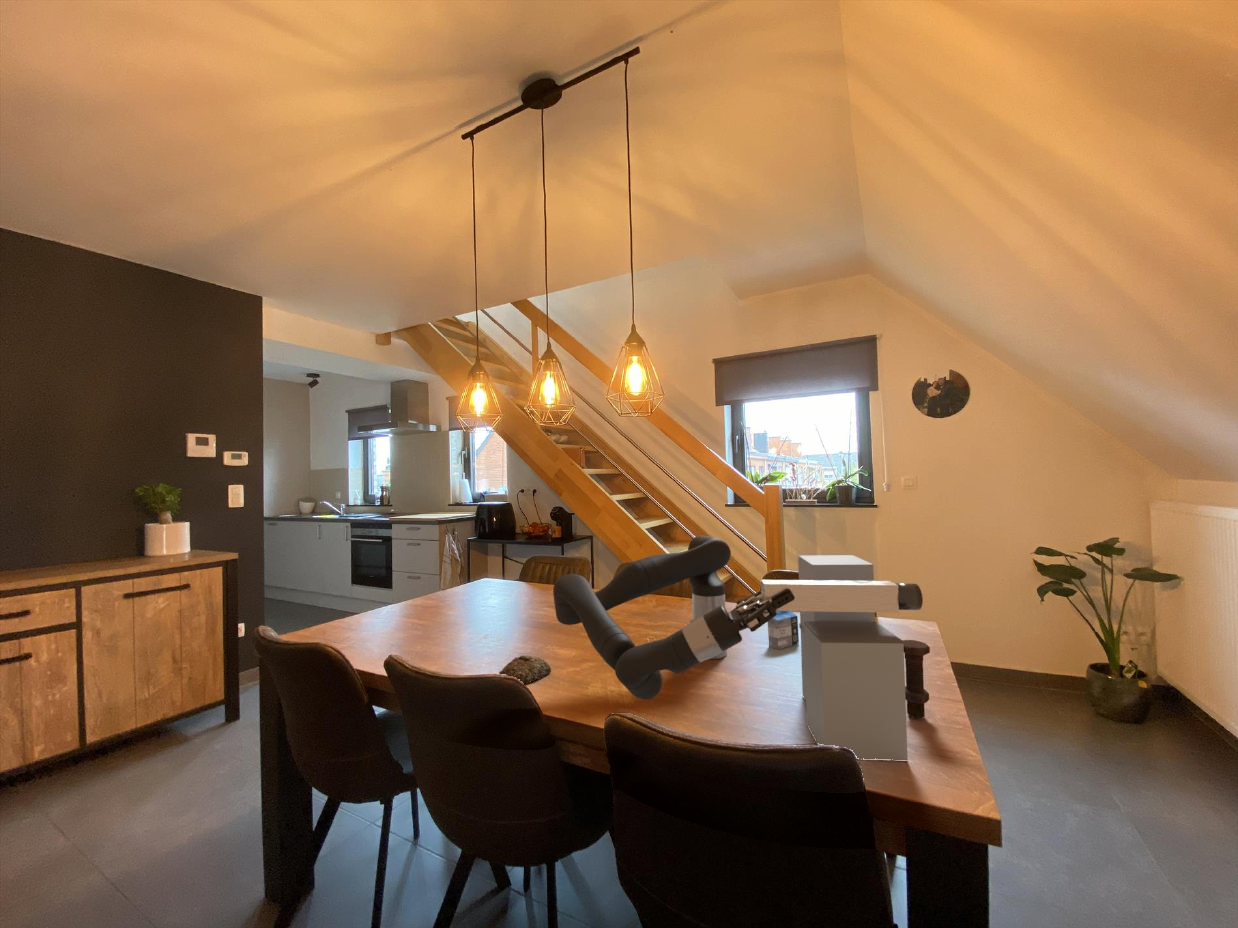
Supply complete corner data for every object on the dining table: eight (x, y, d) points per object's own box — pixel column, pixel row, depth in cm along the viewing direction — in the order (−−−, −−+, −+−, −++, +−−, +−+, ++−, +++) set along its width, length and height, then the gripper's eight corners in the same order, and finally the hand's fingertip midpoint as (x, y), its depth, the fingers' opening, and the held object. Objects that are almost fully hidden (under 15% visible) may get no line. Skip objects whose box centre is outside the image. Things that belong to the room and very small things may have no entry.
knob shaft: (765, 611, 96) (764, 584, 96) (761, 604, 101) (760, 579, 101) (922, 613, 93) (922, 585, 93) (910, 606, 98) (910, 580, 98)
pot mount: (825, 759, 91) (819, 578, 92) (791, 695, 117) (786, 555, 118) (911, 761, 90) (905, 578, 90) (858, 696, 116) (853, 554, 116)
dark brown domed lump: (557, 674, 134) (556, 655, 134) (518, 689, 125) (517, 669, 125) (527, 663, 143) (527, 645, 143) (489, 676, 134) (488, 657, 134)
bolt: (895, 710, 109) (893, 639, 109) (918, 709, 109) (915, 638, 109) (913, 723, 103) (911, 648, 103) (937, 722, 103) (934, 647, 104)
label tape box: (778, 650, 147) (777, 607, 148) (767, 646, 151) (766, 604, 151) (799, 644, 152) (798, 602, 152) (788, 640, 155) (787, 599, 155)
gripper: (703, 627, 93) (787, 580, 91) (699, 607, 107) (772, 566, 105) (725, 664, 92) (809, 617, 91) (718, 639, 106) (791, 598, 105)
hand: (789, 590), depth 98 cm, fingers closed on knob shaft, 4 cm apart
